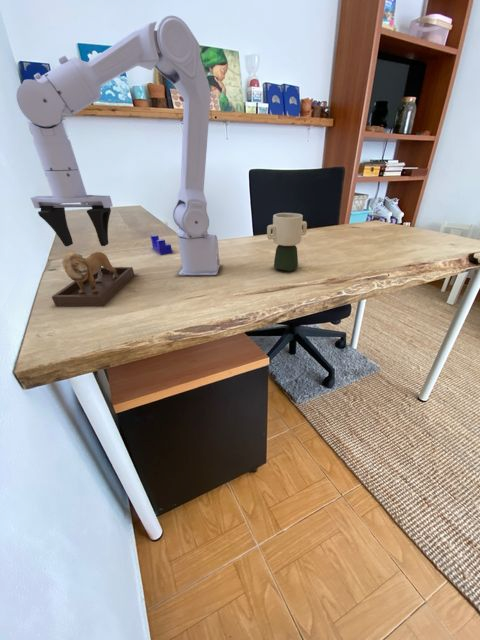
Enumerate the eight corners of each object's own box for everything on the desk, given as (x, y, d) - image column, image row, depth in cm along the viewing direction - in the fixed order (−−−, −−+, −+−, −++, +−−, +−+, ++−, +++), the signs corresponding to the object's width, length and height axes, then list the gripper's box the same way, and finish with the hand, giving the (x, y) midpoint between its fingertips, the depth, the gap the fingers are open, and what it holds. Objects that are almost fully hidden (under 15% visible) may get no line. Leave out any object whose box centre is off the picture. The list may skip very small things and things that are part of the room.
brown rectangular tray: (134, 275, 73) (132, 267, 72) (103, 306, 59) (99, 296, 58) (96, 275, 73) (93, 267, 72) (55, 306, 59) (51, 296, 58)
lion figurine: (94, 300, 60) (78, 255, 55) (68, 300, 60) (50, 255, 55) (123, 275, 72) (112, 236, 67) (101, 274, 72) (89, 236, 67)
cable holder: (172, 253, 89) (169, 239, 87) (160, 254, 88) (158, 241, 85) (163, 247, 95) (161, 234, 92) (153, 248, 93) (150, 235, 91)
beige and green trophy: (296, 262, 81) (299, 211, 74) (310, 269, 76) (315, 215, 69) (261, 267, 78) (260, 214, 70) (273, 276, 72) (274, 219, 65)
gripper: (109, 168, 58) (128, 239, 66) (36, 169, 58) (63, 240, 65) (93, 170, 52) (115, 248, 60) (11, 171, 52) (44, 249, 60)
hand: (87, 245), depth 62 cm, fingers open, 7 cm apart
